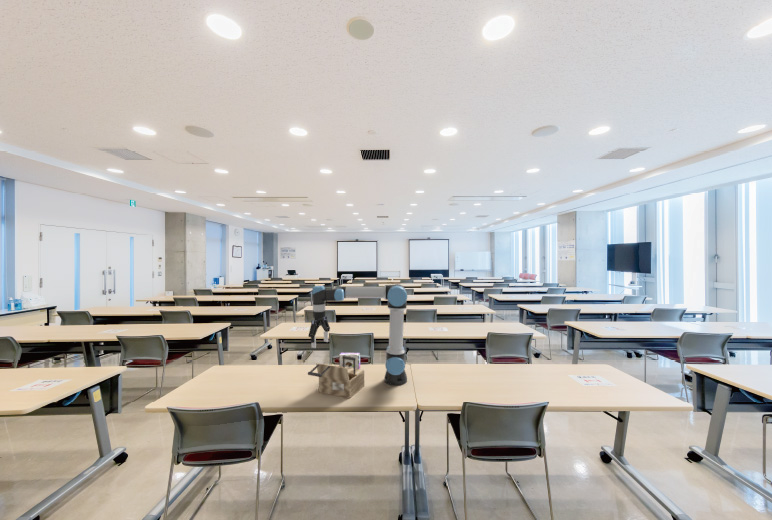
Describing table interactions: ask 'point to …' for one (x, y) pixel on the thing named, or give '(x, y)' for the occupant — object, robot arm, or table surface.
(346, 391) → the wooden box
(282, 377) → the table surface
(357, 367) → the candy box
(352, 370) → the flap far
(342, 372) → the flap near
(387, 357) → the robot arm
